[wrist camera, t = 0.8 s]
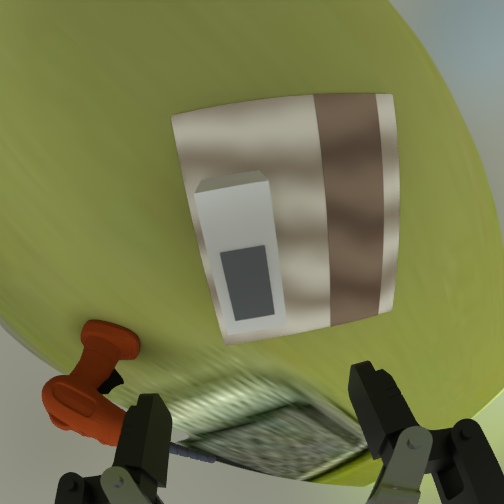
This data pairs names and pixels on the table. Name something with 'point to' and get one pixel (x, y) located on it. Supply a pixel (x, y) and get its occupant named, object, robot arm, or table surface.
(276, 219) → the subfloor panel
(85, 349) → the toy drill
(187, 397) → the table surface
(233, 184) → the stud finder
